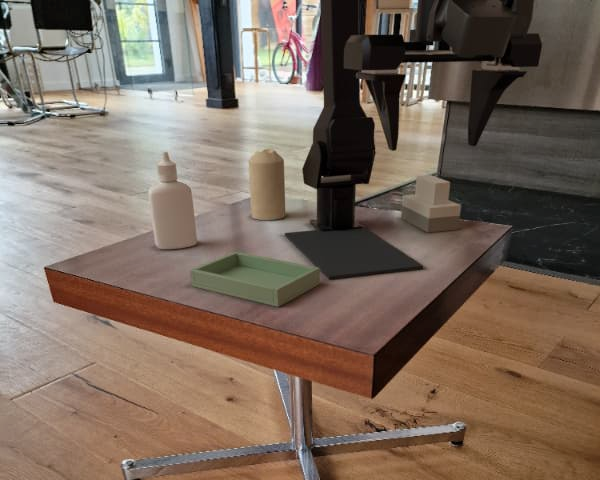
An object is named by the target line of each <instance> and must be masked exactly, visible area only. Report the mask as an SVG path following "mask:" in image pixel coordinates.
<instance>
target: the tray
mask: <svg viewBox="0 0 600 480" xmlns="http://www.w3.org/2000/svg"><path fill="white" fill-rule="evenodd" d="M189 277H190V285H191V287H194V288H199V289H203V290H206V291H210V292H215V293H218V294H219V293H220V294H223V295H226V296H231V297H235V298H239V299H244V300H247V301H251V302H256V303H260V304H264V305H268V306H273V307H276V308H280V307H281V306H283V305H285V304H286V303H289V302H290V301H291V300H294V299H295V298H298V297H300V296H301V295H303V294H305V293H307V292H308V291H310V290H312V289H314V288H315V287H317V286H319V285H321V271H320V268H318V267H316V266H312V265H307V264H302V263H297V262H292V261H286V260H281V259H276V258H272V257H271V258H270V257H266V256H261V255H257V254H250V253H245V252H240V251H234V252H231V253H228V254H226V255H224V256H221V257H218V258H216V259H213V260H211V261H209V262H206V263H204V264H201V265H198V266H196V267H194V268H191V269H189Z"/></svg>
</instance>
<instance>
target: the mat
mask: <svg viewBox="0 0 600 480" xmlns="http://www.w3.org/2000/svg"><path fill="white" fill-rule="evenodd" d="M284 237H285V238H287V239H288V241H289V242H290V243H292V245H294V246H295V248H297V249H298V250H299V252H301V253H302V254H303V255H304V256H305V257H306V258H307V259H308V260H309V261H310V262H311V264H313V265H314V267H318V268H320V273H322V274H323V275H324V276H325V277H326V278H327V280H338V279H345V278H346V279H347V278H355V277H363V276H371V275H380V274H388V273H389V274H390V273H398V272H407V271H415V270H423V269H424V265H423V264H422V263H420V262H419V261H417V260H415V259H414V258H412V257H411V256H409V255H408V254H406V253H405V252H403V251H402V250H400V249H399V248H397V247H395V246H394V245H393V244H391V243H389V242H387V240H385V239H383V238H382V237H380V236H379V235H377V234H375V233H374V232H372V231H371V230H369V229H368V228H367V227H365V226H363V227H362V228H356V229H346V230H335V231H320V230H317V229H314V230H313V229H311V230H302V231H301V230H300V231H291V232H284Z"/></svg>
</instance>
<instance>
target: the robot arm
mask: <svg viewBox="0 0 600 480" xmlns="http://www.w3.org/2000/svg"><path fill="white" fill-rule="evenodd" d="M534 5H535V0H417V8H416V18H415V29H409V38H408V41H405V39H404V35H403V34H401V33H399V34H360V0H320V24H321V25H320V29H321V55H322V56H321V57H322V85H323V87H322V88H323V108H322V110H321V112H320V114H319V116H318V118H317V119H316V122H315V124H314V127H313V128H312V144H311V146H310V148H309V151H308V154H307V156H306V158H305V161H304V163H303V166H302V170H301V171H302V172H301V173H302V178H303V179H302V180H303V184H304V185H306V186H308V187H310V188H312V189H314V190H316V218H315V219H314V218H313V219H309V224H310V225H311V226H312V227H314V229H315V230H320V231H335V230H346V229H356V228H362V227H364V226H363V225H362V224H361V223H359V222H357V221H356V219H355V218H356V189H357V185H369V184H370V181H371V177H372V171H373V166H374V162H375V158H376V144H375V130H376V127H375V126H376V124H375V120H374V118H373V117H372V116H367V113H366V112H365V110H364V109H363V107H362V105H361V80H364V82H365V84H366V87H367V89H368V91H369V94H370V96H371V99H372V101H373V103H374V106H375V108H376V111H377V115H378V117H379V121H380V124H381V128H382V130H383V131H382V132H383V135H384V137H385V140H386V144H387V147H388V150H389V151H393V152H394V151H396V150H397V147H398V141H399V134H400V132H399V129H400V102H401V101H400V99H401V91H402V87H403V85H404V83H405V79H406V77H407V76H406V75H407V74H405V73H399V67H400V66H401V65H402V64H407V63H408V64H410V63H411V64H413V63H415V64H417V63H419V64H421V63H463V62H465V63H466V62H467V63H469V62H479V63H480V69H472V71H471V82H470V95H469V109H468V118H467V119H468V121H467V144H468V146H470V147H476V146H477V145H478V143H479V141H480V139H481V136H482V134H483V132H484V130H485V129H486V126H487V125H488V122H489V120H490V118H491V116H492V114H493V112H494V110H495V108H496V106H497V105H498V103H499V101H500V99H501V98H502V96H503V94H504V92H505V91H506V90H507V89H508V88H509V87H510V86H511V85H512V84H513V83H514V82H515V81H516V80H517V79H519V78H525V77H526V75H527V73H528V71H527V70H520V69H521V68H535V67H540V66H541V61H542V56H543V50H544V46H543V41H542V39H541V36H540V33H537V32H536V33H534V32H533V33H531V32H530V33H528V32H529V29H530V27H531V24H532V21H533V15H534V14H533V13H534ZM436 42H437V49H427V47H428V46H434V43H436Z"/></svg>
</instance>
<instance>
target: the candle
mask: <svg viewBox="0 0 600 480" xmlns="http://www.w3.org/2000/svg"><path fill="white" fill-rule="evenodd" d="M248 173H249V174H248V177H249V194H250V196H249V197H250V210H251V211H250V213H251V218H252V219H254V220H257V221H258V220H259V221H275V220H281V219H283V218H285V217H286V186H285V185H286V184H285V183H286V182H285V159H284V158H283V157H282V156H281V155H280V154H279V153H277V151H276V150H274V148H267V149H263V150H261V151H258V150H256V151H255V152H254V153H253V155H252V156H251V157H250V158H249V159H248Z"/></svg>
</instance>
